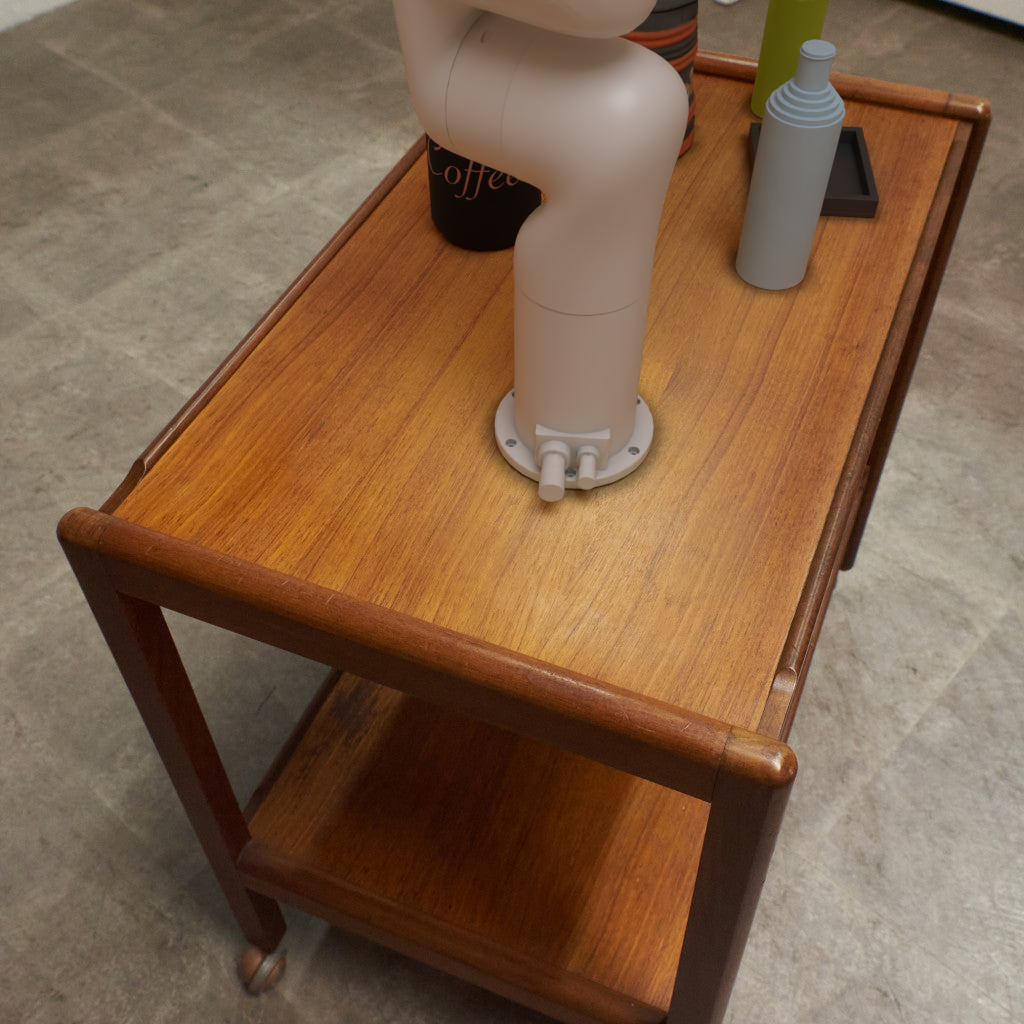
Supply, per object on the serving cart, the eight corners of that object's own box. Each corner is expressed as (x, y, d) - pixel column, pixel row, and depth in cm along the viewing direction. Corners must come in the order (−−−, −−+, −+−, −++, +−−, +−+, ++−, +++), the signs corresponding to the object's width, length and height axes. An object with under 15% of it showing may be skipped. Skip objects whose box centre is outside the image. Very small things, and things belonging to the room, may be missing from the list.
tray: (874, 218, 104) (879, 200, 103) (754, 212, 105) (758, 194, 103) (857, 144, 113) (862, 127, 112) (747, 139, 114) (750, 122, 112)
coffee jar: (412, 239, 102) (396, 56, 88) (462, 182, 108) (454, 3, 95) (512, 267, 99) (512, 82, 86) (558, 207, 105) (564, 27, 92)
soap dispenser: (812, 97, 119) (855, -96, 104) (796, 127, 115) (838, -70, 100) (761, 87, 121) (796, -105, 106) (744, 115, 117) (777, -80, 102)
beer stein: (498, 148, 113) (495, -50, 98) (546, 84, 122) (551, -107, 106) (671, 185, 108) (696, -18, 93) (708, 115, 117) (737, -80, 102)
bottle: (807, 292, 97) (865, 68, 81) (736, 288, 97) (780, 65, 81) (801, 250, 101) (855, 29, 85) (733, 246, 101) (774, 26, 85)
